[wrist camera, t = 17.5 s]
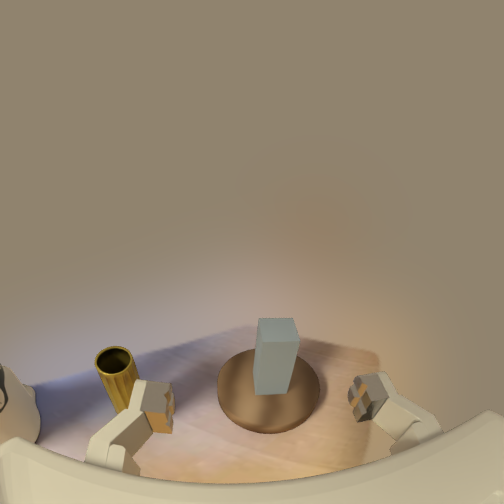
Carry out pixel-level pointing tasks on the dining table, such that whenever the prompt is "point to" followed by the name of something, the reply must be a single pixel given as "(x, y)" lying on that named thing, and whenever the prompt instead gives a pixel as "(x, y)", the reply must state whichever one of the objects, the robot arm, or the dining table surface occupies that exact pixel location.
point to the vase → (117, 375)
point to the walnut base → (266, 396)
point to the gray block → (274, 355)
